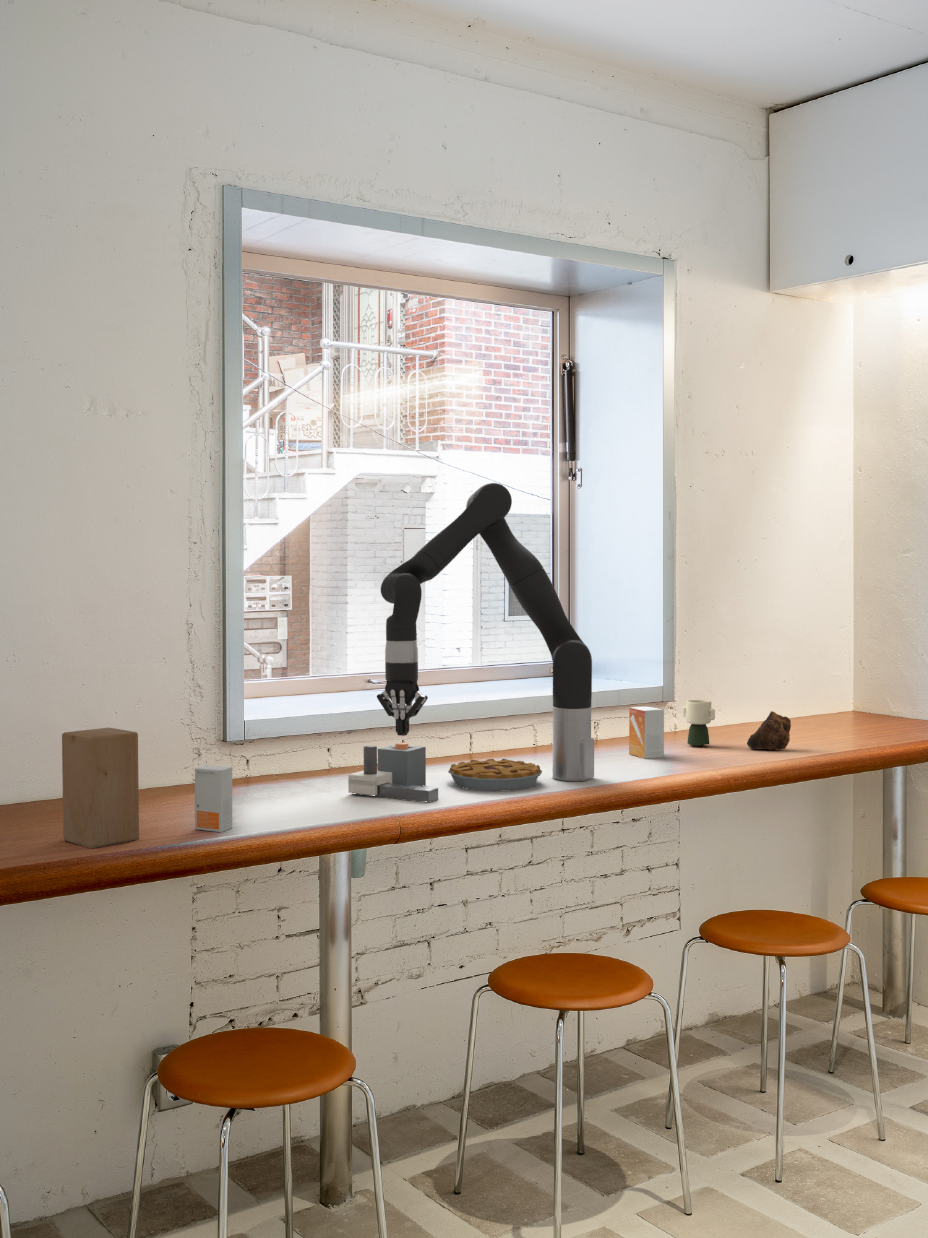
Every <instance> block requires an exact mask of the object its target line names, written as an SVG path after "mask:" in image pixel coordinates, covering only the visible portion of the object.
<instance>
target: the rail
mask: <svg viewBox="0 0 928 1238" xmlns="http://www.w3.org/2000/svg"><path fill="white" fill-rule="evenodd" d="M357 794H358V793H356V794H355V795H357ZM366 795H367V794H362V795H361V796H366ZM375 796H379V797H378V798H384V797H388V798H387V799H392V798H399V799H398V800H401V799H406V800H405V801H410V800H415V801H414V802H419V801H427V802H426V803H428V802H429V803H431V802H430V801H432V802H434V801H433V800H435V801H437V799H438V800H439V787H432V786H415V785H405V784H395V783H384V784H381V785H378V786H377V795H375ZM375 796H374V797H375Z"/></svg>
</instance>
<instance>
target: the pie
mask: <svg viewBox="0 0 928 1238" xmlns="http://www.w3.org/2000/svg"><path fill="white" fill-rule="evenodd" d="M447 772H448V774H450V775H451V778H452V779H453V782H454V784H455V785H457V786H458V787H459V786H460V788H463V787H464V788H463V789H466V788H468V789H467V790H471V789H473V791H478V790H483V791H482V792H503V791H502V790H510V791H518V790H524V789H525V790H526V789H529V788H533V787H535V786H536V784H537V780H538V778H539V776H541V774H542V773H543V770H542V769H541V766H540V765H538V764H537V765H536V764H535V763H532V762H528V763H527V762H525V761H524V760H517V761H515V760H512V759H506V758H502V759H501V760H495V759H494V758H489V759H486V760H478V759H477V760H476V759H471V760H469V761H467V762H465V761H461V762H458V763H457V764H456V763H454V764H451V765H450V767H449V770H448V771H447Z"/></svg>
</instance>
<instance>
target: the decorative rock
mask: <svg viewBox="0 0 928 1238" xmlns="http://www.w3.org/2000/svg"><path fill="white" fill-rule="evenodd" d="M791 728H792V723H791V719H790V718H789V717H787V716H782V715H781V714H778V713H776V712H775V711H774V710H773V711H770V712H769V714H768V716H767V718H766V719H764V720H763V722H762V723H761V724H760V726H759V727H758V729H757V730H756V731H755V732H754V733H752V734H751V735H750V737H749V738H748V740H747V741H746V744H747V746H748V748H749V749H750V748H752V749H751V750H754V749H756V748H758V750H759V749H761V750H765V749H769V750H768V751H773V750H772V749H775V750H779V749H780V750H785V749H787V746H788V745H789V742H790V741H791V739H790V736H791V734H790V732H791ZM770 749H771V750H770ZM756 750H757V749H756Z"/></svg>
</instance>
